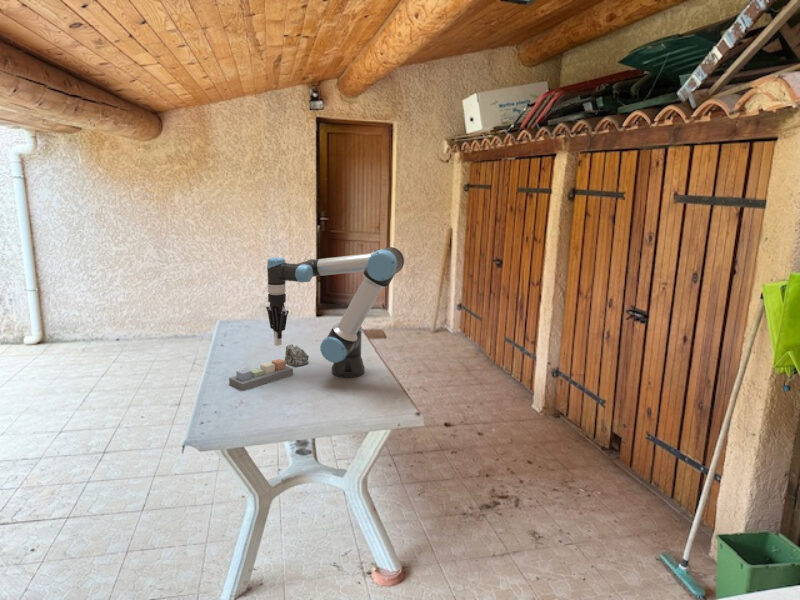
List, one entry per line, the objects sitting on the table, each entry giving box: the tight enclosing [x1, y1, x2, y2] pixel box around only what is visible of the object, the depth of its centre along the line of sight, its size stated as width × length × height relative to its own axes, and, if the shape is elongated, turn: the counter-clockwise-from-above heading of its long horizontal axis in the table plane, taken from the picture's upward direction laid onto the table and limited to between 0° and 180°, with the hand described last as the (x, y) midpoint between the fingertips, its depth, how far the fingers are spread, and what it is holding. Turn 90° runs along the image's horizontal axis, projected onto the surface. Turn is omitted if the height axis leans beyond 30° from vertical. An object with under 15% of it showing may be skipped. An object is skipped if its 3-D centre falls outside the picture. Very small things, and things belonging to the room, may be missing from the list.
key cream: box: [259, 361, 275, 374], centre depth 226 cm, size 4×4×4 cm
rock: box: [283, 344, 310, 367], centre depth 246 cm, size 13×10×10 cm
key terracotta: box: [271, 358, 287, 371], centre depth 230 cm, size 4×4×4 cm
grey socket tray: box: [228, 365, 294, 392], centre depth 224 cm, size 10×26×3 cm, turn 140°
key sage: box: [249, 367, 263, 378], centre depth 222 cm, size 4×4×4 cm
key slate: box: [235, 368, 251, 382], centre depth 217 cm, size 4×4×4 cm
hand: (278, 344), depth 228 cm, fingers closed
